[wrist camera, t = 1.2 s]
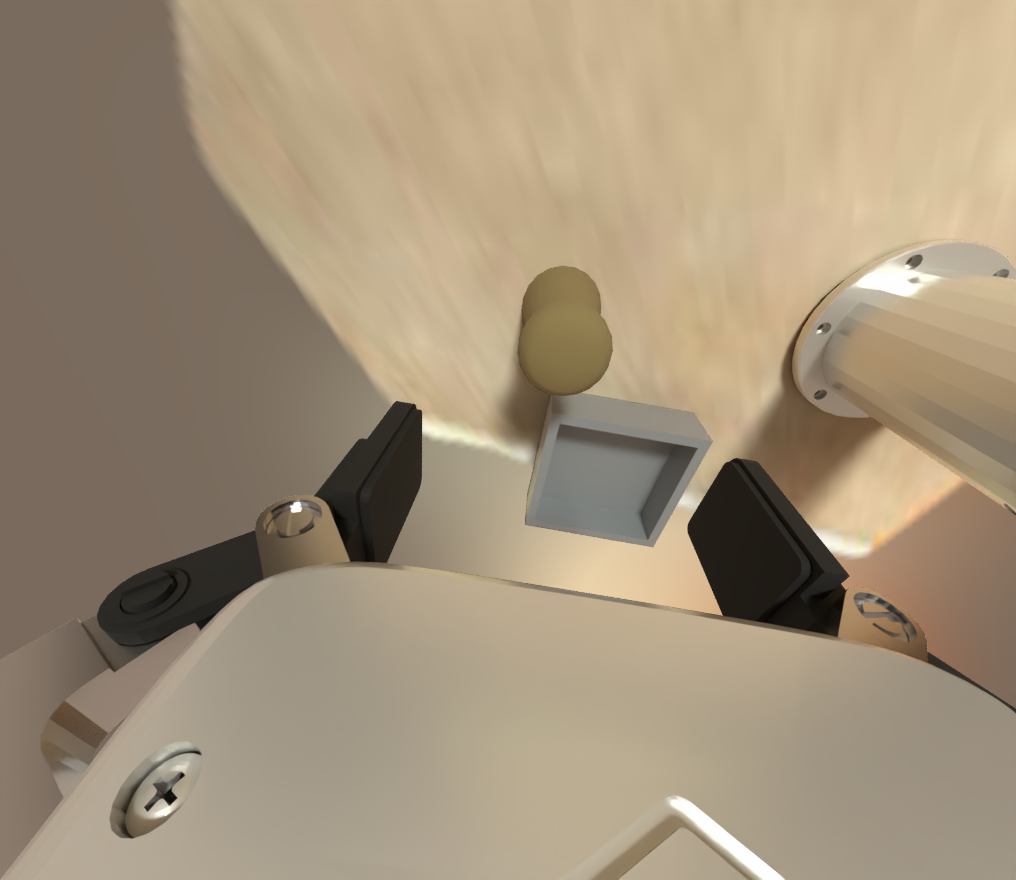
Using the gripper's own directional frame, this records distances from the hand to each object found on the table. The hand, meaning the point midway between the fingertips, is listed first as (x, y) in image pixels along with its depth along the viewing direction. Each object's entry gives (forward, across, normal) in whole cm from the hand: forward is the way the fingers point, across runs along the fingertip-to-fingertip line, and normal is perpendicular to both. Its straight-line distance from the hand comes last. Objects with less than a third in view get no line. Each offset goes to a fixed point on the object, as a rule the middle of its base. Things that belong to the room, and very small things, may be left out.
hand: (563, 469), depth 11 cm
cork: (+20, -1, 0) cm, 20 cm away
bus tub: (+20, -8, +13) cm, 25 cm away
